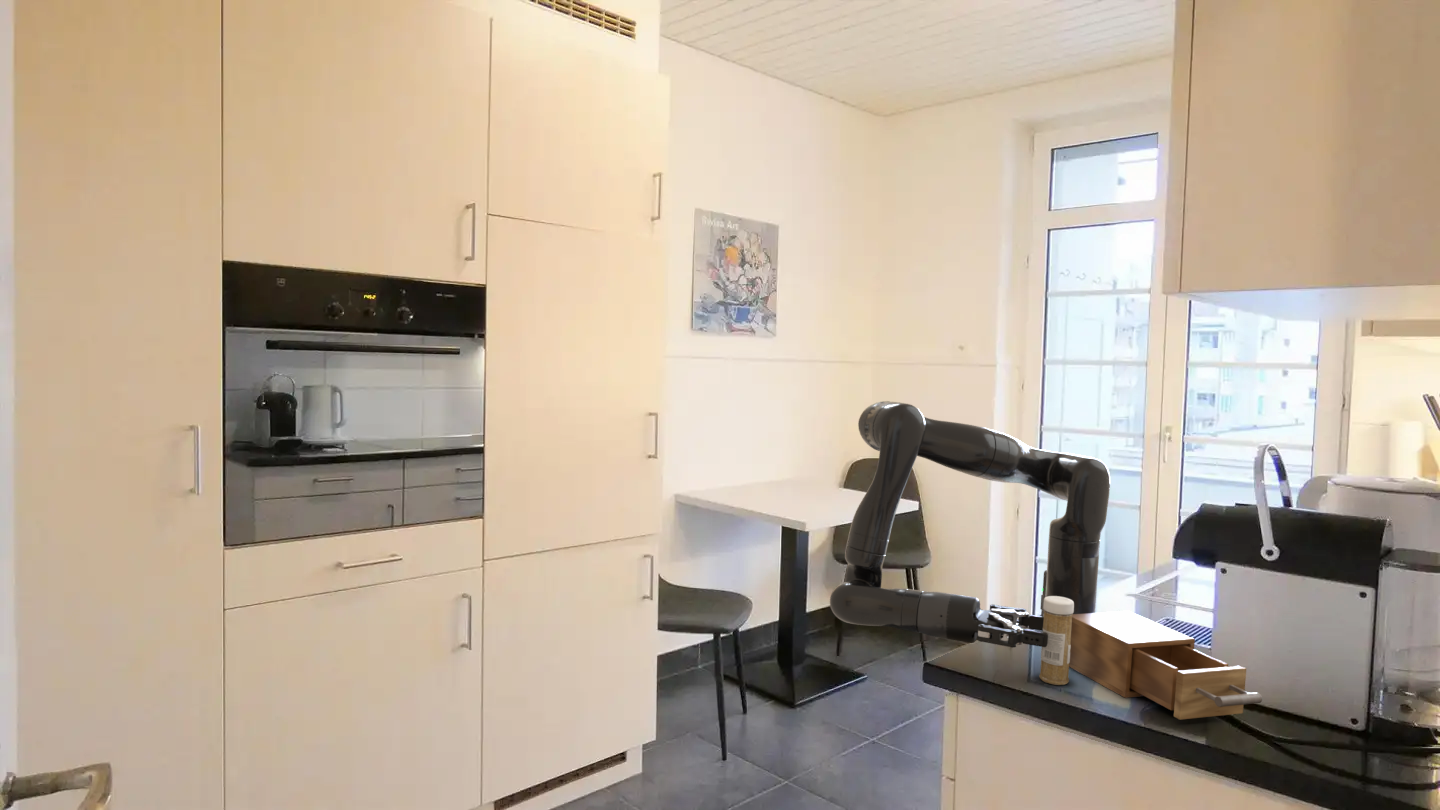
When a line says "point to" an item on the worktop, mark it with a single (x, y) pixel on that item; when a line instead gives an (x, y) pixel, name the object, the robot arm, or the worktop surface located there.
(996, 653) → the worktop surface
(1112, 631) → the cabinet
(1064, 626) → the sprinkles bottle
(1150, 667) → the drawer
